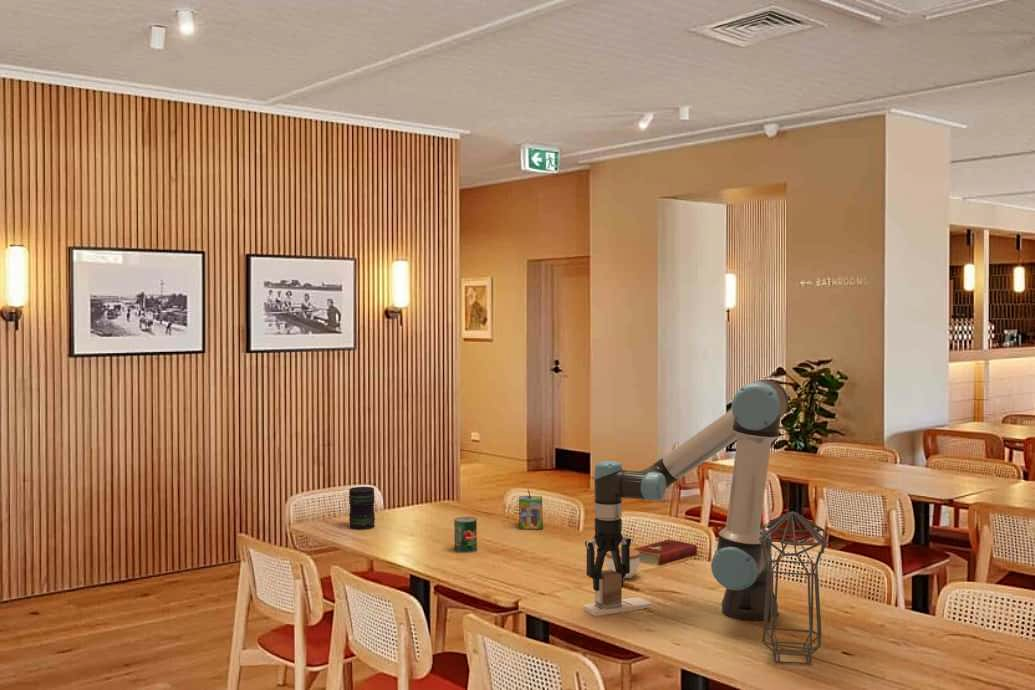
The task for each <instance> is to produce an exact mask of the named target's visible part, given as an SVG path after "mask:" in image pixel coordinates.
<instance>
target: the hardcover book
mask: <svg viewBox="0 0 1035 690" xmlns="http://www.w3.org/2000/svg"><path fill="white" fill-rule="evenodd" d="M632 549H634V550H637V551H639V552H640V561H643V562H642V563H644V562H647V563H646V564H649V563H651V564H650V565H653V564H656V565H655V566H657V565H660V566H662V564H663V565H666V563H667V564H669V562H670V563H674V562H677V561H679V560H683V559H686V558H690V557H694V556H697V555H698V545H697V544H696V543H691V542H685V541H680V540H675V539H671V538H668V539H664V540H661V541H657V542H653V543H650V544H645V545H641V546H637V547H635V548H632ZM676 560H677V561H676ZM640 561H639V562H640ZM673 561H674V562H673Z"/></svg>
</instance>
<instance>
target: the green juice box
mask: <svg viewBox="0 0 1035 690" xmlns="http://www.w3.org/2000/svg"><path fill="white" fill-rule="evenodd" d="M529 490H530V489H529V488H527V494H528V495H522V496H521V495H519V496H518V498H519V499H518V517H519V518H518V519H519V520H518V523H519V525H518V527H519V531H520V530H521V531H522V530H543V529H544V521H543V520H544V519H543V517H544V516H543V497H542V495H531V494H530V491H529Z"/></svg>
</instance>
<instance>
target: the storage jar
mask: <svg viewBox="0 0 1035 690" xmlns="http://www.w3.org/2000/svg"><path fill="white" fill-rule="evenodd" d="M348 492H349V493H348V499H349V500H348V503H349V514H348V516H349V518H348V520H349V529H351V530H355V531H363V530H365V531H366V530H371V529H374V528H375V525H376V524H375V521H376V517H375V514H376V513H375V488H374V487H373V486H355V487H351V488H349V489H348Z"/></svg>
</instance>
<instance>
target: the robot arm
mask: <svg viewBox="0 0 1035 690" xmlns="http://www.w3.org/2000/svg"><path fill="white" fill-rule="evenodd" d="M788 408H789V396H788V393H787V391H786V389H785V388H784V387H783V386H782V385H781V384H780V383H778V382H777V381H775V380H772V379H759V380H757V381H751V382H748V383H746V384H744V385H742V386H741V387H740V388H739V389H738V390H737V391H736V393H735V395H734V396H733V398H732V402H731V409H730V410H728V411H727V412H725V413H724V414H722V415H721V416H720V417H718V418H717V419H715V420H714V421H712V422H711V423H710V424H708V425H707V426H705V427H704V428H702V429H701V430H700V431H699V432H697V433H695V434H694V435H692V437H690V438H689V439H686V441H684V442H683V443H681V444H680V445H678V446H677V447H675V449H673V450H672V451H670V452H669V453H667V454H666V455H664V456H662V457H661V458H659V460H657V461H656V462H655V463H653V464H651V465H650V466H648V467H646V468H644V469H642V470H626V469H623V465H622V463H621V462H619V461H613V460H604V461H599V462H597V463H595V466H594V477H593V480H594V481H593V482H594V516H595V518H594V536H593V539H591V540H590V541H588V540H585V541H584V545H585V547H586V576H587V577H589V578H590V579H592V589H593V591H594V592H595V591H596V601H597V602H599V603H603V580H602V579H600V576H601V572H602V570H603V568H604V561H605V559H606V554H607V552H608V551H611V553H612V557H613V561H614V566H615V570H616V572H618V573H620V574H622V588H624V579H623V577H625V576H626V575H625V574H629V573H630V549H631V547H630V546H631V544H632V538H630V537H627V536H623V533H622V530H623V527H622V526H623V525H622V524H623V519H622V516H623V511H622V509H623V504H622V502H623V501H622V499H623V498H624V499H628V498H629V499H633V500H634V499H635V500H645V501H646V500H647V501H649V502H650V501H661V500H662V499H663V498H664V496H665V493H666V489H668V488H669V487H670V486H672V485H673V484H674V483H676V482H678V480H680V479H681V478H683V477H684V476H686V475H687V474H689V473H690V472H691V471H693V470H695V469H696V468H698V466H701V465H702V464H703V463H705V462H706V461H708V460H709V459H710V458H713V456H715V455H716V454H717V453H719V452H721V451H722V450H723V449H725V448H726V447H728V446H729V445H731V444H732V443H734V442H735V441H736V447H735V455H734V462H733V470H732V479H731V485H730V486H731V487H730V494H729V501H728V502H729V503H728V508H727V517H726V524H725V527H724V528H723V529H721V530H720V531H719V532H718V540H717V548H716V551H715V553H714V555H713V556H712V558H711V565H710V567H711V568H710V569H711V574H712V575H713V577H714V579H715V580H716V582H717V583H719V585H721V586H722V587H724V588H725V591H724V594H723V595H724V596H723V598H722V601H721V612H722V613H723V614H724V615H726V616H728V617H730V618H731V617H732V618H734V619H741V620H748V621H749V620H750V621H762V620H763V621H764V611H765V598H766V585H767V567H766V562H765V558H764V553H763V549H762V547H761V542H760V540H759V538H760V536H762V535H761V534H762V533H763V531H762V528H760V527H761V522H762V514H763V508H764V500H765V492H766V486H767V485H766V484H767V477H768V469H769V462H770V453H771V448H772V447H771V446H772V443H773V442H774V441H775V440H776V439H778V438H779V433H780V428H781V427H780V426H781V419H782V418H783V416H784V415H785V414H786V413H787V410H788ZM765 530H766V529H765ZM766 531H767V530H766ZM770 534H771V532H770V533H769V534H767V535H766V536H765V537H766V538H767V537H768V536H769V535H770ZM768 539H772V535H771V536H770V537H769V538H768ZM770 542H771V543H773V541H770ZM766 544H767V548H768V551H769V553H770V556H771V557H772V546H771V545H770V544H769V543H768V542H766ZM620 545H621V547H622V563H621V558H620V554H619V553H620V551H619V548H620ZM596 547H597V548H596ZM595 548H596V553H595ZM765 553H766V557H767V562H768V563H769V561H771V559H770V557H769V554H768V552H767V549H766V547H765ZM595 555H596V557H595ZM769 569H770V566H769ZM774 601H775V591H773V618H774ZM778 614H779V604H778V603H777V606H776V617H777V616H778ZM768 620H771V588H770V601H769V615H768Z"/></svg>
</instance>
